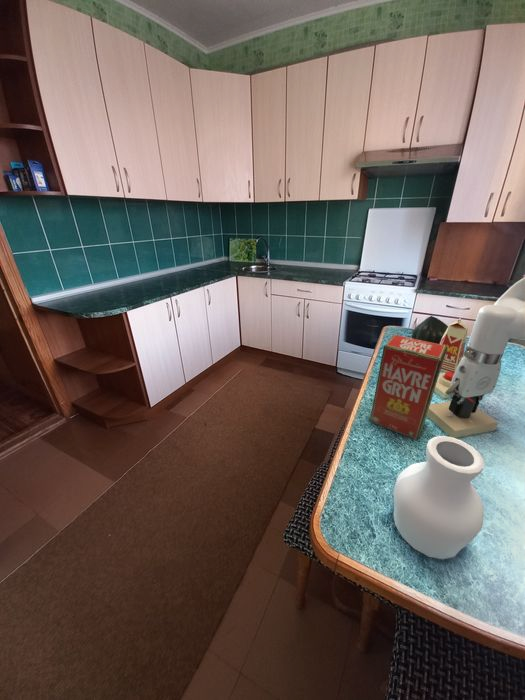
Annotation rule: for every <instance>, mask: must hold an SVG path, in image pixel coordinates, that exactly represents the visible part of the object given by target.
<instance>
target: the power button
mask: <svg viewBox="0 0 525 700" xmlns="http://www.w3.org/2000/svg"><path fill="white" fill-rule="evenodd" d="M444 373H445V376H444V379H446V380H448V381H452V378H453V375H454V373H453V372H444Z"/></svg>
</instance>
